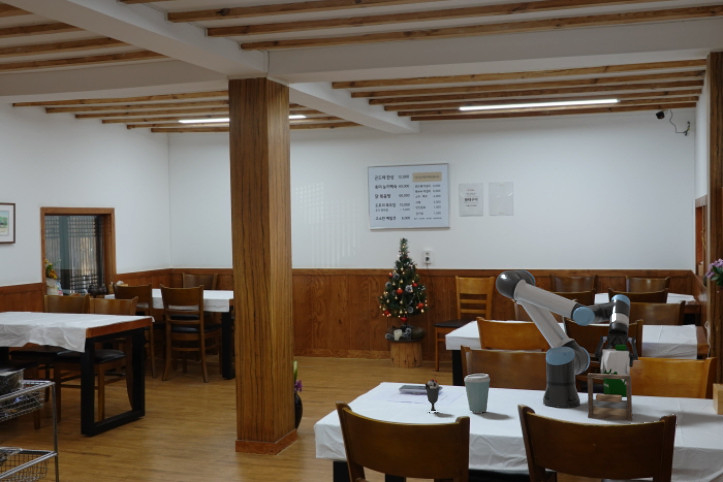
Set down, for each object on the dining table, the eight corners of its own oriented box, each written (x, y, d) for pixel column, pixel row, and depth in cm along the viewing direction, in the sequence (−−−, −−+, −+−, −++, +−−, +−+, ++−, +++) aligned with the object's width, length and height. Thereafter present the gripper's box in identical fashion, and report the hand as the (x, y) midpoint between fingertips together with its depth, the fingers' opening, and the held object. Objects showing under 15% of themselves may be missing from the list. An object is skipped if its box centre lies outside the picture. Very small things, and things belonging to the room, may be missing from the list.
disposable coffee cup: (474, 415, 303) (474, 377, 304) (459, 411, 313) (458, 374, 313) (496, 412, 308) (495, 375, 309) (480, 408, 318) (479, 372, 318)
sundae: (442, 410, 314) (442, 374, 315) (439, 414, 308) (438, 376, 308) (427, 410, 316) (426, 373, 317) (423, 413, 310) (422, 376, 310)
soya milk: (631, 397, 299) (631, 346, 299) (609, 398, 298) (608, 346, 298) (622, 393, 308) (621, 343, 308) (600, 393, 307) (599, 344, 307)
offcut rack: (588, 417, 296) (587, 374, 296) (590, 414, 301) (589, 372, 302) (631, 420, 289) (630, 376, 289) (633, 417, 295) (632, 374, 295)
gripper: (647, 334, 312) (644, 379, 298) (592, 332, 321) (587, 376, 307) (646, 322, 308) (643, 368, 293) (590, 320, 317) (585, 364, 302)
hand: (614, 372), depth 300 cm, fingers closed on soya milk, 9 cm apart
